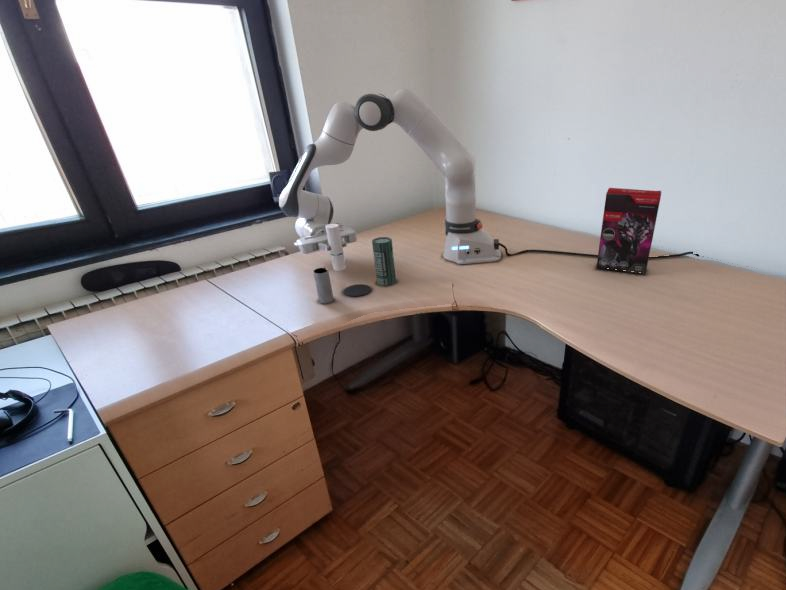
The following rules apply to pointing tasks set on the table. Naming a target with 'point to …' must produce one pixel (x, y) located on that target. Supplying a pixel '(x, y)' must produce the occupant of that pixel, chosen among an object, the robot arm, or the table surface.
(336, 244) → the tube
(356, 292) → the slate coaster
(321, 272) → the grey hollow cylinder
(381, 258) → the can
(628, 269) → the graphics card box
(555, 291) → the table surface
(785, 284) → the table surface
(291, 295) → the table surface
